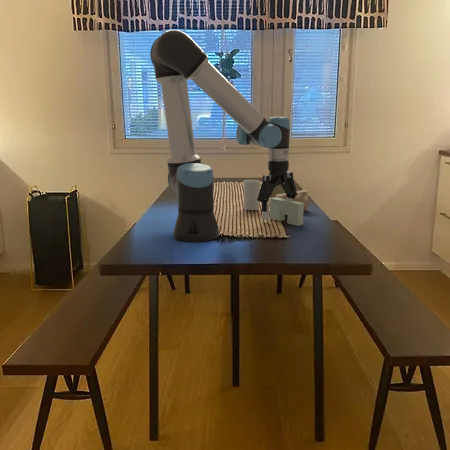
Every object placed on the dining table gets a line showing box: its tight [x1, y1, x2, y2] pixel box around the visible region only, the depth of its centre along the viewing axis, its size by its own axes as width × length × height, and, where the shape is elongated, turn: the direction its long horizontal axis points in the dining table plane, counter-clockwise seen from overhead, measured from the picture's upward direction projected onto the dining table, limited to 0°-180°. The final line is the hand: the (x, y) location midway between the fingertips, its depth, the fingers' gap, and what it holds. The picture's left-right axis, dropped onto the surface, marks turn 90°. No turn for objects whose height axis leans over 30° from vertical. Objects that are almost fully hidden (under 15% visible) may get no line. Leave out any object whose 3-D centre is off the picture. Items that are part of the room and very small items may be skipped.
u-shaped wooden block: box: [274, 189, 309, 216], centre depth 187 cm, size 16×3×8 cm, turn 130°
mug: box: [243, 179, 261, 212], centre depth 194 cm, size 10×7×12 cm, turn 172°
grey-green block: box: [269, 197, 305, 227], centre depth 172 cm, size 3×14×8 cm, turn 40°
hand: (277, 217), depth 176 cm, fingers open, 12 cm apart
